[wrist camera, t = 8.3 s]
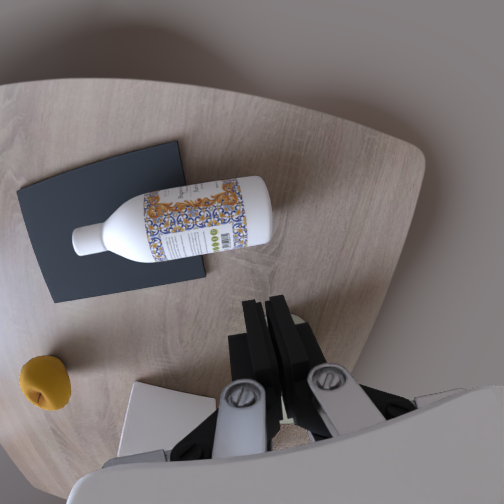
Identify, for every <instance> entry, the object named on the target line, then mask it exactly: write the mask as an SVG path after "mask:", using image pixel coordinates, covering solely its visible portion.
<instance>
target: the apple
mask: <svg viewBox="0 0 504 504" xmlns="http://www.w3.org/2000/svg"><path fill="white" fill-rule="evenodd" d="M19 382H20V386H21V390H22V392H23V393H24V395H25V396H26V398H27V399H28V400H29V401H30V402H32V403H33V404H34V405H36V406H38V407H40V408H42V409H44V410H50V411H51V410H58V409H61V408H63V407H64V406H65V405H66V404H67V403H68V401H69V398H70V396H71V384H70V379H69V375H68V373H67V370H66V368H65V366H64V364H63V363H62V361H60V360H59V359H58V358H56V357H53V356H38V357H35V358H32V359H31V360H29V361H28V362H27V363H26V364H25V365H23V367H22V369H21V372H20V378H19Z"/></svg>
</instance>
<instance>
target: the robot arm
mask: <svg viewBox="0 0 504 504" xmlns="http://www.w3.org/2000/svg"><path fill="white" fill-rule="evenodd" d="M269 300H270V301H265V308H266V316H267V323H266V319H265V315H264V311H263V308H262V304H261V302H258V303H256V301H255V299H254V300H248V301H242V306H243V312H244V318H245V324H246V330H247V333H243V334H236V335H230V336H228V342H229V353H230V364H231V375H232V382H231V383H229V384H228V385H226V386H225V388H224V389H223V390H222V393H221V396H220V403H219V408H218V409H216V410H215V411H214V412H213V413H212V414H211V415H210V416H209V417H208V418H206V419H205V420H204V421H203V422H202V423H201V424H200V425H198V426H197V427H196V428H195V429H194V430H193V431H191V432H190V433H189V434H188V435H187V436H186V437H184V438H183V439H182V440H181V441H180V442H178V443H177V444H176V445H175V446H174V447H173V449H172V450H168V451H165V450H164V449H160V450H155V451H150V452H145V453H140V454H135V455H129V456H123V457H117V458H113V459H110V460H108V461H107V462H106V463H105V464H104V465H103V467H102V469H100V470H96V471H94V472H91V473H89V474H87V475H85V476H83V477H82V478H80V479H79V480H78V481H77V482H76V483H75V485H74V487H73V488H72V490H71V492H70V495H69V497H68V500H67V503H66V504H504V387H502V386H484V387H477V388H472V389H469V390H466V389H462V388H460V389H453V390H449V391H444V392H440V393H435V394H430V395H425V396H420V397H415V398H414V400H413V401H409V400H408V399H405V398H403V397H400V396H396V395H393V394H389V393H386V392H383V391H379V390H376V389H373V388H370V387H367V386H364V385H361V384H358V383H357V381H356V380H355V379H354V377H353V376H352V375H351V374H350V372H349V371H348V370H347V369H346V368H345V367H344V366H342V365H340V364H336V363H327V362H326V360H325V358H324V356H323V353H322V351H321V349H320V347H319V345H318V343H317V340H316V338H315V336H314V334H313V332H312V330H311V327H310V325H309V324H308V322H304V323H299V324H295V323H294V321H293V318H292V316H291V313H290V311H289V308H288V306H287V303H286V301H285V298H284V296H283V295H278V296H272V297H269ZM267 325H268V326H267ZM281 396H282V399H281ZM282 400H283V404H284V407H285V411H286V415H287V418H288V419H291V418H293V421H294V425H298V426H300V427H302V428H304V429H307V433H308V436H309V438H310V440H311V442H312V443H309V444H305V445H300V446H295V447H291V448H285V449H280V450H275V451H273V441H272V438H273V437H274V436H275V435H276V434H277V432H278V431H279V430H280V421H281V420H283V410H282Z"/></svg>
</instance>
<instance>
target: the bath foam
mask: <svg viewBox="0 0 504 504" xmlns="http://www.w3.org/2000/svg"><path fill="white" fill-rule="evenodd" d="M272 233H273V215H272V207H271V201H270V197H269V193H268V190H267V187H266V184H265V182H264V181H263V179H262V178H261V177H259V176H248V177H241V178H233V179H226V180H219V181H212V182H206V183H200V184H194V185H188V186H182V187H176V188H171V189H165V190H160V191H154V192H149V193H145V194H142V195H139V196H136V197H134V198H132V199H130V200H128V201H127V202H125V203H124V204H123V205H121V206H120V207H119V208H118V209H117V210H116V211H115V212H114V213H113V214H112V215H111V216H110V217H109V218H108V219H107V220H106V221H105V222H104V223H98V224H93V225H89V226H84V227H80V228H76V229H75V230H74V231H73V235H72V242H73V247H74V250H75V252H76V253H77V254H78V255H79V256H83V255H88V254H93V253H98V252H103V251H107V250H110V251H112V252H114V253H116V254H119V255H121V256H123V257H125V258H128V259H130V260H134V261H138V262H148V263H149V262H161V261H167V260H173V259H178V258H184V257H190V256H196V255H202V254H207V253H213V252H219V251H225V250H231V249H237V248H242V247H247V246H253V245H259V244H265V243H268V242H269V241H270V240H271V237H272Z"/></svg>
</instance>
